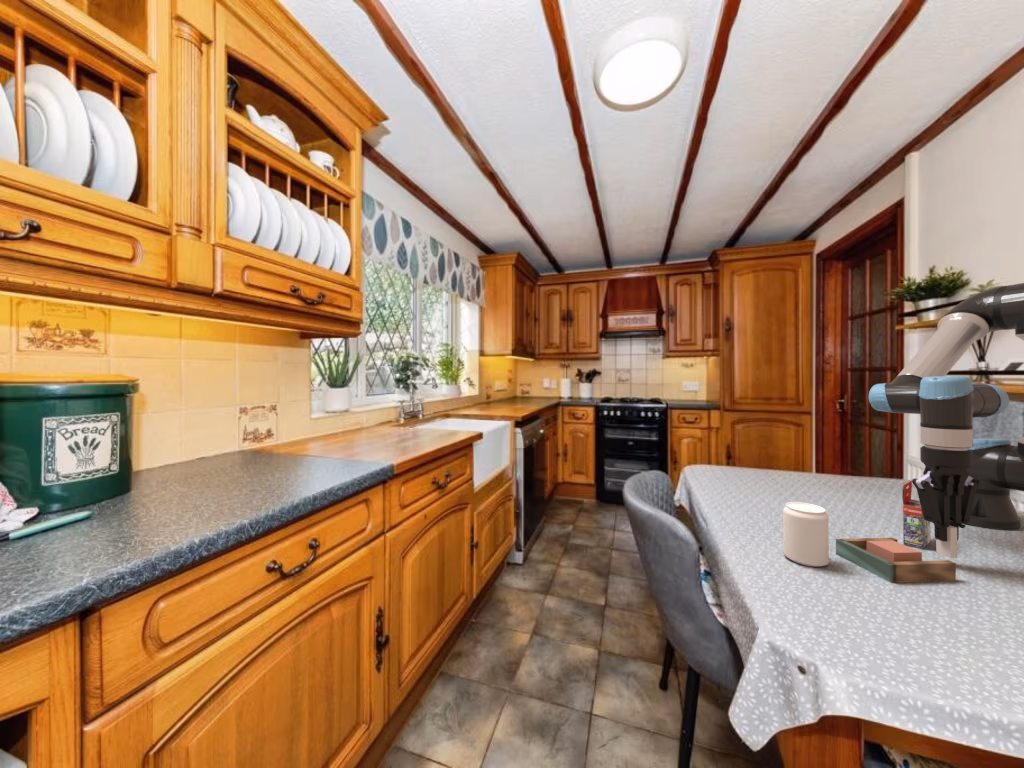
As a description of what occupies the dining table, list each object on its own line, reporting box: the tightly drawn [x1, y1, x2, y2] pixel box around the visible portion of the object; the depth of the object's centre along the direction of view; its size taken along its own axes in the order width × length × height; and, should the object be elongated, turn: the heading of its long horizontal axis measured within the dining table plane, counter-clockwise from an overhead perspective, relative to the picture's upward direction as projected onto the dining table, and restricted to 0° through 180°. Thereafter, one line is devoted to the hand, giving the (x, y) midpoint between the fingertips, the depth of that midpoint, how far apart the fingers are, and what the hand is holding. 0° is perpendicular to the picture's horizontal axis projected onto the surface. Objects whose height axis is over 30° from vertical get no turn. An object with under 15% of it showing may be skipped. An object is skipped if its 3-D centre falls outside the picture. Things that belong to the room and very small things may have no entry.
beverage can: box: [782, 501, 830, 568], centre depth 86 cm, size 8×8×12 cm
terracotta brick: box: [867, 540, 923, 562], centre depth 82 cm, size 6×6×4 cm
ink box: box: [901, 480, 932, 550], centre depth 94 cm, size 4×8×15 cm, turn 123°
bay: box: [835, 537, 957, 583], centre depth 82 cm, size 14×12×4 cm
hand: (946, 554), depth 83 cm, fingers closed
